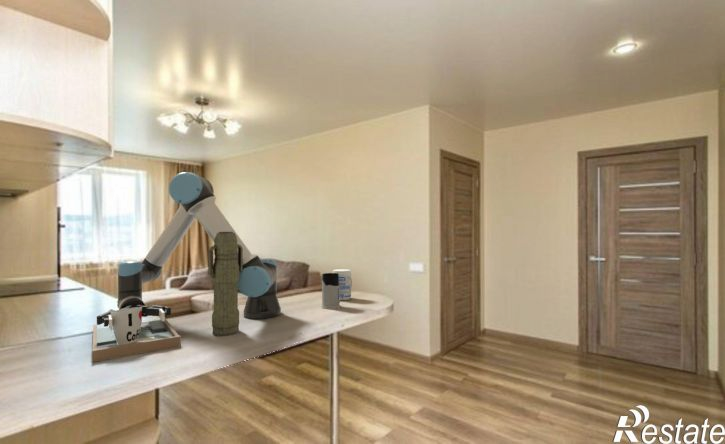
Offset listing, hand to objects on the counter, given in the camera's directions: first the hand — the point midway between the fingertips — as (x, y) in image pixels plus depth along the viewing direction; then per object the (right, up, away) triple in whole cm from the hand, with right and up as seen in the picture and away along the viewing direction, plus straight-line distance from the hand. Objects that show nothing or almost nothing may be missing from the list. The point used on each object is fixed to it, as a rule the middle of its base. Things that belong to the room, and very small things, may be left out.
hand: (138, 320), depth 110 cm
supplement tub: (+58, -10, +75) cm, 95 cm away
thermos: (+20, -9, +17) cm, 28 cm away
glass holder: (+56, -9, +57) cm, 80 cm away
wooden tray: (-8, -9, +11) cm, 16 cm away
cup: (-4, -8, +2) cm, 9 cm away
